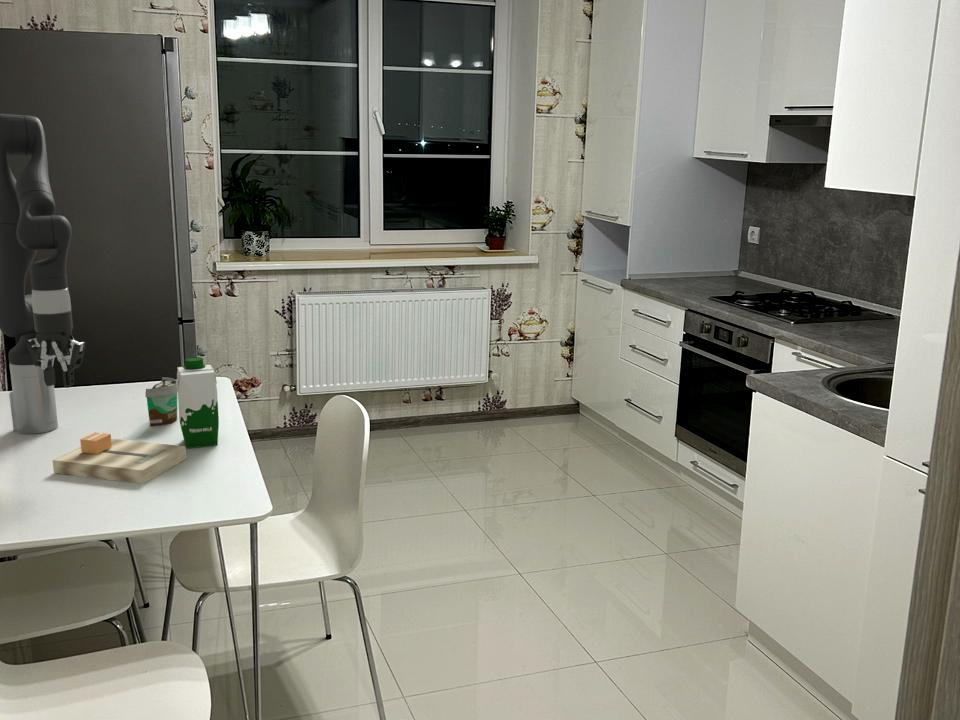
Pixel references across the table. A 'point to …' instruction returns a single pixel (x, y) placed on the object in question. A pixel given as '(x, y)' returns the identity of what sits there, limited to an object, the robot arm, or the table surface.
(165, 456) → the fader console
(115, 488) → the table surface
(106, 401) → the table surface
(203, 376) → the milk carton
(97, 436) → the fader knob
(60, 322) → the robot arm
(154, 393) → the food container
